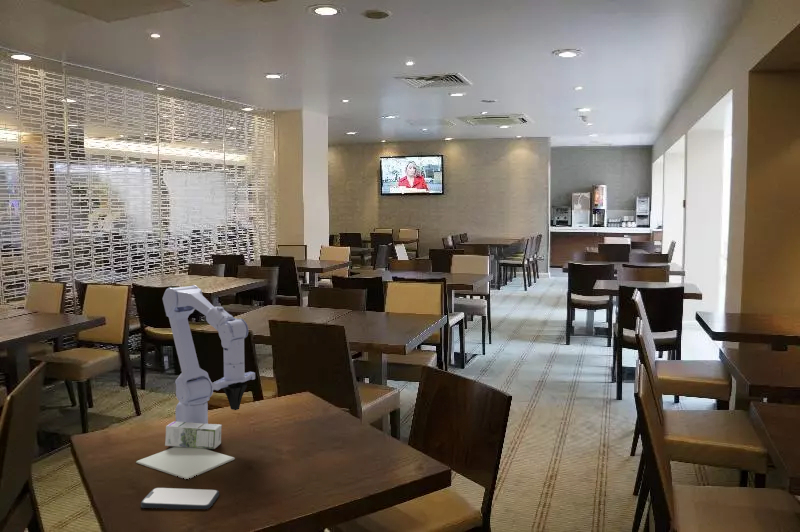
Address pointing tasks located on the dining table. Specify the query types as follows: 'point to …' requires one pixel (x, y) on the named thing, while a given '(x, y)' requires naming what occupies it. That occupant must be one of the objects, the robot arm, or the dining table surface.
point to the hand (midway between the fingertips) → (234, 409)
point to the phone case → (180, 498)
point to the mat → (185, 461)
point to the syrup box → (193, 435)
